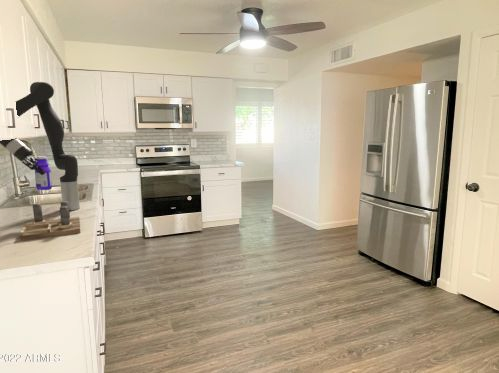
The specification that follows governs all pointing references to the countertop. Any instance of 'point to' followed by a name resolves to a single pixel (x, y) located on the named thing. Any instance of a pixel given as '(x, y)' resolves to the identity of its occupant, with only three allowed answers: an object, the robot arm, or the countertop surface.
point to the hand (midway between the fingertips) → (46, 172)
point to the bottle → (43, 180)
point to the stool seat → (50, 224)
